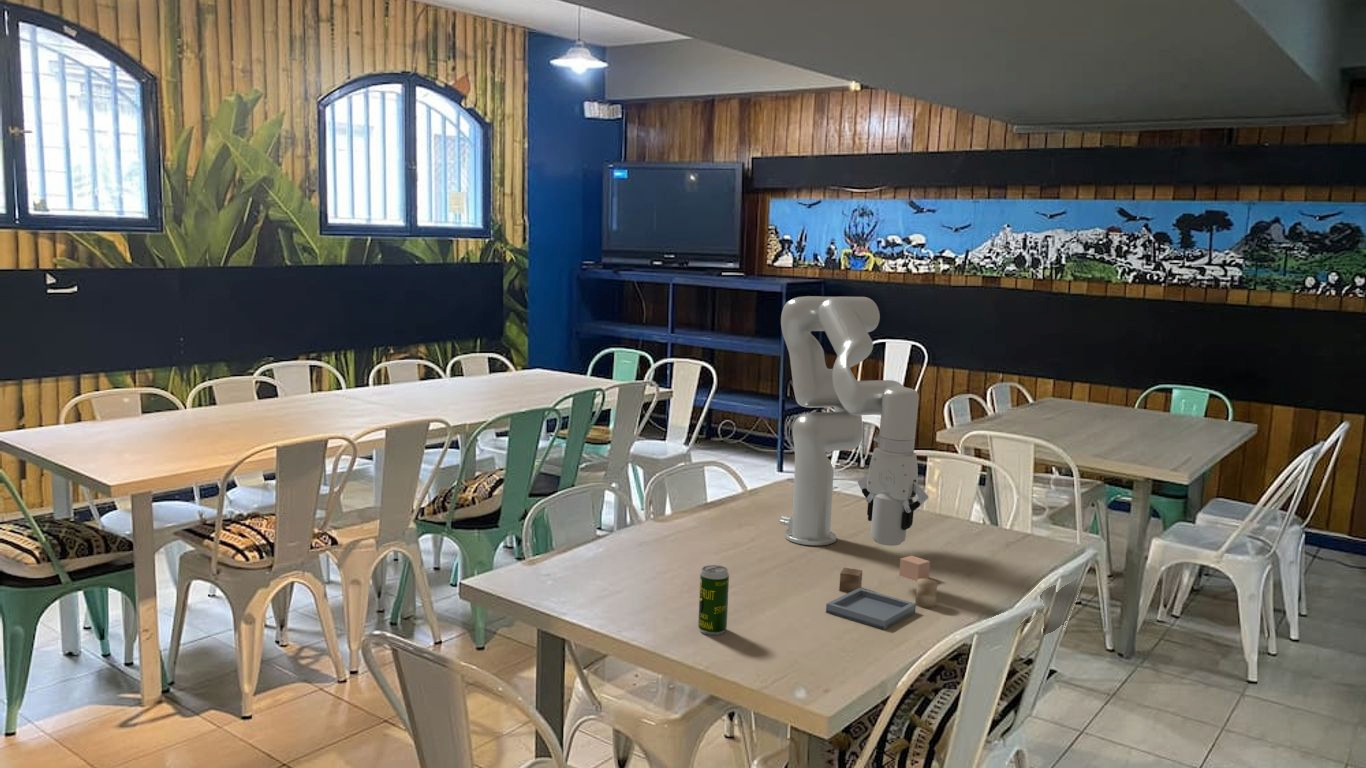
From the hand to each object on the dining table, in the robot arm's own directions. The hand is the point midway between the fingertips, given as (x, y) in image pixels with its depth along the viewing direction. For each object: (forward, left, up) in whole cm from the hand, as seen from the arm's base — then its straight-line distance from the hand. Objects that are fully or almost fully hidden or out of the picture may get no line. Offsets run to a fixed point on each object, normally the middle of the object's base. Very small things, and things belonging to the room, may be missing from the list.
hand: (889, 523), depth 223 cm
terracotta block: (+3, +8, -13) cm, 16 cm away
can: (0, 0, -4) cm, 4 cm away
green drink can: (-10, -48, -13) cm, 51 cm away
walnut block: (-3, -9, -13) cm, 17 cm away
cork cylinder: (+13, -6, -13) cm, 20 cm away
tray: (+7, -18, -13) cm, 24 cm away
